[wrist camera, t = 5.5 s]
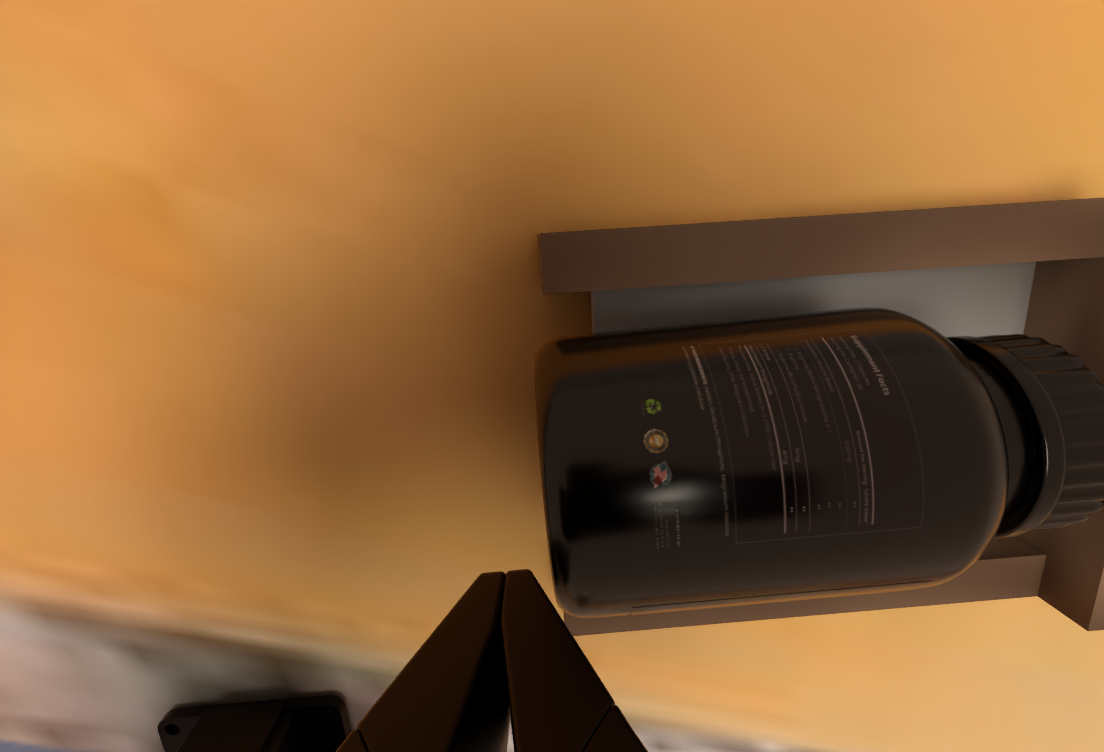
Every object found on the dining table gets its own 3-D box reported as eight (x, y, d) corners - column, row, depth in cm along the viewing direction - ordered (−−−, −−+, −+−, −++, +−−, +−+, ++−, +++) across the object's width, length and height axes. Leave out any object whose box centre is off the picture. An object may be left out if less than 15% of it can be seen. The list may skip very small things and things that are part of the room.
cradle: (1011, 546, 19) (1138, 626, 15) (560, 583, 18) (569, 676, 14) (1078, 200, 16) (1261, 186, 12) (537, 234, 15) (541, 232, 11)
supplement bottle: (541, 379, 17) (897, 350, 17) (557, 600, 15) (961, 567, 15) (526, 285, 11) (1106, 237, 10) (552, 653, 9) (1267, 594, 9)
